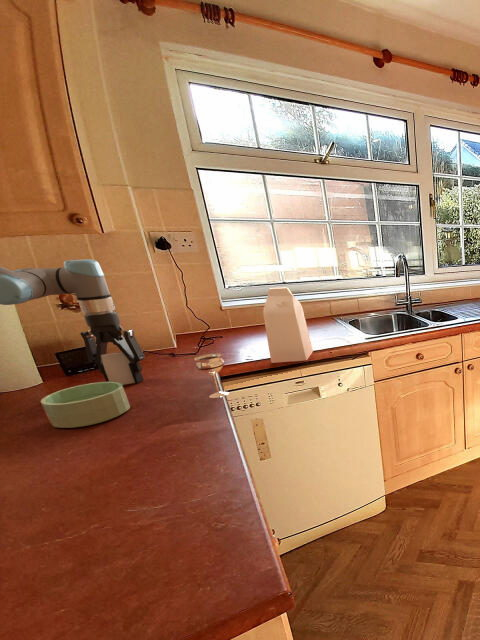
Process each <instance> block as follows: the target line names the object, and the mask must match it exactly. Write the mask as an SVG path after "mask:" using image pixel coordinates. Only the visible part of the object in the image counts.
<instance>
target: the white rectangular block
mask: <svg viewBox="0 0 480 640" xmlns="http://www.w3.org/2000/svg"><path fill="white" fill-rule="evenodd" d="M101 358H102V361H103V365H104V369H105V371H106V374H107V377H108V379H109V382H119V383H121V384H122V385H123V386H124V385H129V384H130V385H131V384H136V383H135V381H134V378H133V376H132V373H131V370H130V367H129V363H130V361H129V360H128V359H127V357H126V356H125V355H124V354H123V353H122V351H121V352H114V353H106V354H105V355H101Z"/></svg>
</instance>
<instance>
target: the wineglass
mask: <svg viewBox="0 0 480 640" xmlns="http://www.w3.org/2000/svg"><path fill="white" fill-rule="evenodd" d="M193 360H194V361H195V367H196V369H197V370H198V371H199V372H201V373H203V374H205V375H209V376H211V377H212V380H213V383H214V386H215V389H216V392H214V393H212V394H210V395H209V396H208V397H209V398H210V399H219V398H222V397H226V396H227V395H229V391H220V390H219V386H218V385H219V384H218V381H217V378H216V375H217V373H219V372H220V371H222V369H223V368H224V366H225V361H224V359H223V358H222V354H221V353H216V352H215V353H205V354H202V355H198V356H196V357H194V359H193Z"/></svg>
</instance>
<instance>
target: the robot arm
mask: <svg viewBox="0 0 480 640" xmlns="http://www.w3.org/2000/svg"><path fill="white" fill-rule="evenodd" d="M107 283H108V282H107V280H106V277H105V273H104V272H103V270H102V267H101V265H100V263H99V262H98V261H97V260H95V259H91V258H90V259H89V258H88V259H86V258H84V259H83V258H82V259H69V260H68V259H67V260H64V262H63V267H48V268H47V267H44V268H43V267H41V268H40V267H39V268H36V267H35V268H33V267H28V268H20V269H19V268H18V269H15V270H11V269H8V268H5V267H3V266H1V265H0V305H2V306H11V305H19V304H20V305H21V304H24V303H26V302H30V301H33V300H38V299H42V298H45V297H48V296H57V295H58V296H59V295H75V297H76V299H77V302H78V305H79V308H80V310H81V313H83V314H84V315H83V318H84V321H85V322H86V326H87V327H89V330H88V329H87V330H85V331H84V330H83V331H82V332H80V333H79V334H80V336H81V338H82V339H83V342H84V347H85V351H86V352H85V353H86V356H87V361H88V363H94V364H96V365H97V367H98V370H99V372H100V374H103V377H104V380H105V382H109V379H108V377H107V374H106V371H105V369H104V365H103V361H102V358H101V355H105V354H107V351H108V344H109V343H111V344H113V345H114V346H116V347H117V348H118V349H119V350H120V351H121V352H122V353H123V354H124V355H125V356H126V357H127V359H128V360H129V361H130V363H129V367H130V370H131V373H132V376H133V378H134V381H135V383H134V384H139V383H141V382H143V381H144V377H143V374H142V371H143V367H142V364H141V361H143V360H145V359H146V356H145V354H144V352H143V350H142V347H141V346H140V344H139V342H138V340H137V339H136V337H135V331H134V329H124V328H123V327H122V326H121V320H120V317H119V314H118V312H117V311H115V310H116V307H115V303H114V301H113V298H112V295H111V293H110V289H109V287H108V284H107Z"/></svg>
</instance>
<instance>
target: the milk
mask: <svg viewBox="0 0 480 640" xmlns="http://www.w3.org/2000/svg"><path fill="white" fill-rule="evenodd" d="M262 314H263V321H264V327H265V333H266V339H267V345H268V351H269V352H268V353H269V358H270V362H271V364H275V363H290V362H302V361H307V360H308V359H309V358H310V357H311V355H312V354H313V352H314V349H313V346H312V345H313V344H312V341H311V337H310V333H309V330H308V326H307V321H306V317H305V313H304V309H303V306H302V304H301V302H300V301H299V300H298V299H297V298H296V296H294V294H293V292H291V289H290V288H289V287H270V288H268V293H267V297H266V300H265V303H264V306H263V311H262Z"/></svg>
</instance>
